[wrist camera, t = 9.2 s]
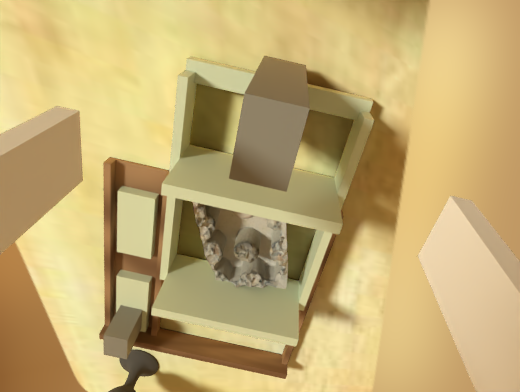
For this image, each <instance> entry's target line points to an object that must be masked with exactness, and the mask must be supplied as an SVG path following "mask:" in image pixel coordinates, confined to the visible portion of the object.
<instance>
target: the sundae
mask: <svg viewBox="0 0 520 392" xmlns="http://www.w3.org/2000/svg"><path fill="white" fill-rule="evenodd" d="M120 363H121V365H122V367H123V368H124V369H125V370H126V371H128V372H129V375H128V378H127V380H126V382H125V384H124V385H123V386H119V387H116V388H114V389H112V390H110V391H109V392H136V391H135V390H134V386H135V384H136V381H137V380H138V378H139V377H140V376H151V375H153V374H155V373H156V372H157V370H158V363H157V361H156V359H155V358H154V357H153V356H152V355H150V354H149V353H146V352H144V351H141V350H131V351H130V354H129V356H128V358H127V359H123V358H120Z"/></svg>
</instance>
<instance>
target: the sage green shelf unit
mask: <svg viewBox="0 0 520 392" xmlns="http://www.w3.org/2000/svg"><path fill="white" fill-rule="evenodd" d="M197 84H201V85H205V86H210V87H214V88H218V89H223V90H227V91H231V92H236V93H240V94H244V99H243V104H242V110H241V115H240V120H239V126H238V131H237V137H236V142H235V148H234V153H233V154H229V153H225V152H220V151H216V150H212V149H207V148H203V147H198V146H194V145H190V137H191V129H192V120H193V112H194V103H195V95H196V86H197ZM372 105H373V100H372V99H371V98H367V97H363V96H359V95H354V94H350V93H346V92H341V91H337V90H333V89H328V88H324V87H320V86H315V85H311V84H307V72H306V65H302V64H298V63H294V62H289V61H285V60H281V59H276V58H272V57H268V56H264V58H263V60H262V61H261V63H260V65H259V67H258V69H257V71H256V72H255V71H251V70H247V69H242V68H238V67H234V66H229V65H225V64H221V63H216V62H212V61H208V60H204V59H199V58H195V57H189V58H187V64H186V70H185V71H184V72H182V73H181V74H179V75H178V82H177V93H176V104H175V115H174V126H173V137H172V148H171V159H170V170H169V174H168V176H167V177H166V178H165V180H164V181H163V183H162V189H161V195H164V196H167V202H166V213H165V224H164V235H163V246H162V257H161V268H160V279H161V280H164V282H163V285H162V287H161V289H160V291H159V293H158V295H157V297H156V300H155V302H154V304H153V306H152V311H151V315H153V316H158V317H163V318H167V319H172V320H176V321H181V322H185V323H190V324H195V325H199V326H204V327H208V328H213V329H217V330H222V331H227V332H231V333H236V334H240V335H245V336H249V337H254V338H259V339H263V340H268V341H272V342H277V343H282V344H286V345H291V346H295V347H296V345H297V343H298V340H299V310H301V311H304V309H305V306H306V303H307V300H308V298H309V295H310V292H311V290H312V287H313V284H314V282H315V279H316V276H317V274H318V271H319V268H320V266H321V263H322V260H323V258H324V255H325V252H326V249H327V247H328V244H329V241H330V239H331V236H332V233H333V234H338V235H339V234H340V231H341V228H342V226H343V221H342V216H341V209H342V207H343V204H344V201H345V198H346V196H347V193H348V190H349V188H350V185H351V182H352V180H353V177H354V174H355V172H356V169H357V166H358V164H359V161H360V158H361V156H362V153H363V150H364V148H365V145H366V142H367V139H368V137H369V134H370V131H371V129H372V126H373V123H374V119H373V117H372V116H371V114H370V110H371V107H372ZM309 110H313V111H318V112H322V113H326V114H331V115H335V116H339V117H344V118H348V119H352V120H354V122H353V124H352V127H351V130H350V133H349V136H348V139H347V142H346V145H345V148H344V151H343V154H342V157H341V159H340V162H339V165H338V168H337V171H336V174H335V177H330V176H326V175H321V174H317V173H313V172H308V171H304V170H299V169H295V168H293V167H294V163H295V160H296V156H297V152H298V149H299V145H300V141H301V138H302V134H303V131H304V127H305V123H306V120H307V116H308V113H309ZM183 200H186V201H191V202H195V203H200V204H204V205H209V206H213V207H218V208H222V209H227V210H231V211H235V212H240V213H244V214H249V215H253V216H258V217H262V218H267V219H271V220H275V221H280V222H284V223H289V224H293V225H298V226H302V227H307V228H311V229H316V232H315V235H314V238H313V241H312V244H311V247H310V250H309V253H308V255H307V258H306V261H305V264H304V267H303V270H302V273H301V276H300V279H299V281H298V280H293V279H288V278H287V286H286V288H285V289H282V288H275V287H272V286H267V287H265V288H260V287H248V286H246V285H243V286H240V287H235V285H234V284H233V283H232V282H228V281H221V280H216V279H215V272H214V271H213V270H212V268H211V266H210V264H209V263H208V261H207V260H203V259H198V258H194V257H189V256H185V255H180V254H177V248H178V240H179V231H180V223H181V214H182V206H183Z"/></svg>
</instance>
